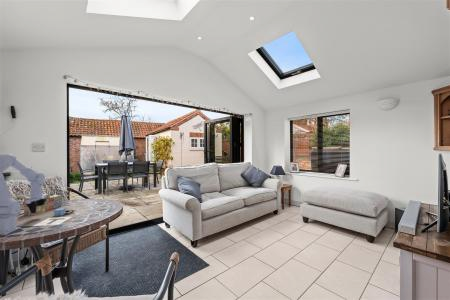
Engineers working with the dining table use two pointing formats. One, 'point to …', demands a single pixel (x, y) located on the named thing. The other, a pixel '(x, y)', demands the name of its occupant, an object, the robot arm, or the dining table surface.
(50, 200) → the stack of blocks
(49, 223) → the letter card
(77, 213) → the dining table surface
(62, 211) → the blue cube
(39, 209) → the oak block
